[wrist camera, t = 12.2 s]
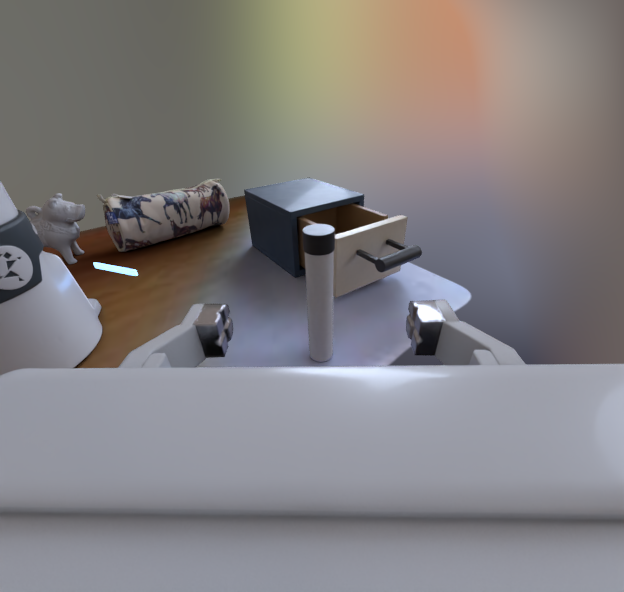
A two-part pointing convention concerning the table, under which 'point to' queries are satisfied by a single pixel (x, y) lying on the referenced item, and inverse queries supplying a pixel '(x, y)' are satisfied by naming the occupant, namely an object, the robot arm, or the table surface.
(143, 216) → the pencil case
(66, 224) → the dog figurine
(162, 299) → the table surface
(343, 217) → the drawer
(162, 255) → the table surface
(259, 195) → the cabinet
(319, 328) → the marker
